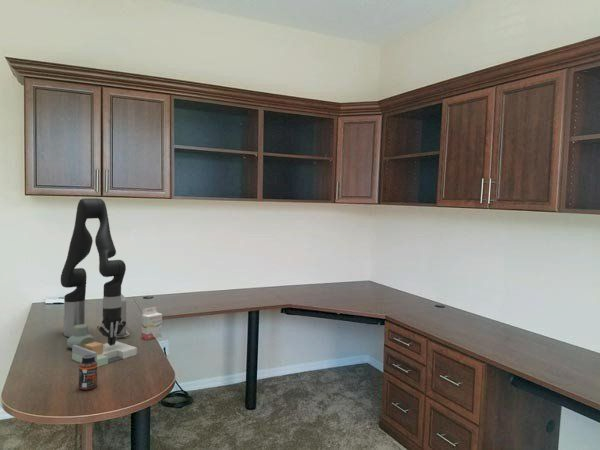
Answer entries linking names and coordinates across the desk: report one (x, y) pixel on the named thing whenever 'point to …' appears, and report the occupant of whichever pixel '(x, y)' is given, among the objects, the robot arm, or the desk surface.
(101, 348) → the block
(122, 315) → the network device
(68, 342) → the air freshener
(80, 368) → the supplement bottle
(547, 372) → the desk surface
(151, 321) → the ink cartridge box
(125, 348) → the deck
